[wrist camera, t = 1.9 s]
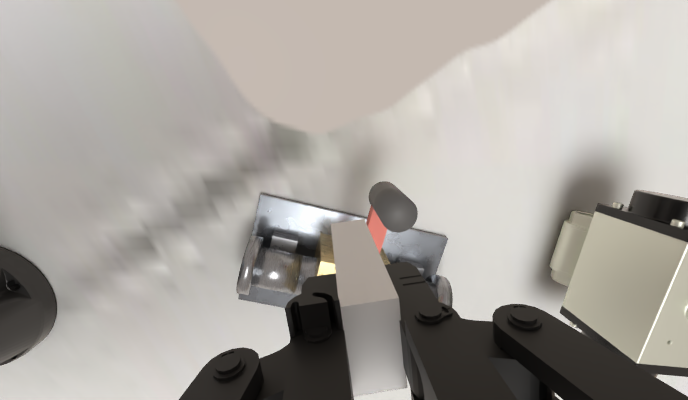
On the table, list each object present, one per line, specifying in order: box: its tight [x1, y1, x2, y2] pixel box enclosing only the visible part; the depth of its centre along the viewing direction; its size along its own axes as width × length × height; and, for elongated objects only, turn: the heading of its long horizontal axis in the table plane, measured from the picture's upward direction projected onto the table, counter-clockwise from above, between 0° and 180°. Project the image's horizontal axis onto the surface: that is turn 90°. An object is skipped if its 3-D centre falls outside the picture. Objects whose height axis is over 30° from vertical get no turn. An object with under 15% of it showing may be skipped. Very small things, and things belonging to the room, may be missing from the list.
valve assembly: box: [237, 193, 452, 308], centre depth 38 cm, size 24×14×10 cm, turn 75°
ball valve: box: [550, 190, 688, 377], centre depth 36 cm, size 18×8×18 cm, turn 170°
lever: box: [366, 182, 417, 254], centre depth 29 cm, size 16×4×6 cm, turn 165°
